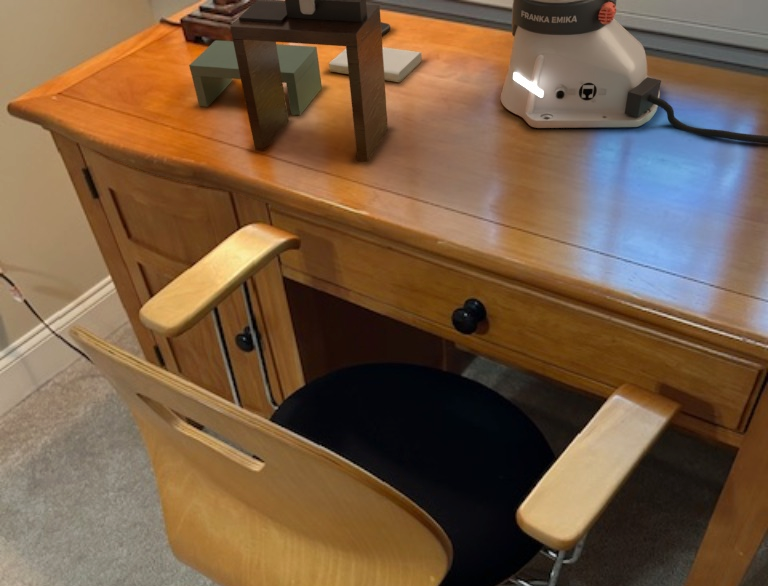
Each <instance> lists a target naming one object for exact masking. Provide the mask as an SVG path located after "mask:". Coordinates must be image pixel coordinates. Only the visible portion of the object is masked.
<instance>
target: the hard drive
mask: <svg viewBox="0 0 768 586" xmlns="http://www.w3.org/2000/svg"><path fill="white" fill-rule="evenodd" d="M382 48H383V63H384V78H385V81H390V82H395V83H401V82H402V81H403V80H404V79H406V77H408V75H409V74H410V73H411V72H412V71H413V70H415V69H416V68H417V67H418V65H420V64H421V62H422V59H423V55H422V52H421V51H416V50H415V51H413V50H408V49H407V50H406V49H400V48H391V47H385V46H382ZM328 67H329V68H328V69H329V72H332V73H333V72H334V73H338V74H342V75H343V74H344V75H349V71H348V61H347V51H346V48H345V49H344V50H343V51H341V52H340V53H339V54H338V55H336V56H335V57H334V58H333V59H332V60H330V61H329V63H328Z"/></svg>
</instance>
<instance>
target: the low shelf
mask: <svg viewBox="0 0 768 586" xmlns="http://www.w3.org/2000/svg"><path fill="white" fill-rule="evenodd" d="M276 46H277V52H278V59H279V65H280V71H281V77H282V83H283V84H286V91H287V97H288V104H289V109H290V114H291V115H293V116H301V115H302V114H303V112H304V111H305V110H306V109H307V108H308V106H309V105H310V104H311V103H312V101H313V100H314V99H315V98H316V96H318V94H319V92H321V90H322V89H323V87H322V78H321V70H320V62H319V55H318V48H317V46H308V45H296V44H295V45H293V44H279V43H276ZM188 66H189V71H190V75H191V78H192V82H193V87H194V91H195V95H196V98H197V102H198V106H199V107H206V108H208V107H209V106H210V105H211V104H212V103H213V102H215V100H216V99H217V98H218V97H219V96H220V95H221V94H222V93H223V92H224V91H225V89H226V88H228V86H230V84H231V83H232V82H233V80H241V78H240V73H239V68H238V63H237V58H236V53H235V48H234V43H233V40H232V41H231V40H220V39H219V40H217V39H216V40H214V41H213V42H212V43H211V44H210V45H209V46H208V47H206V48H205V50H204V51H202V52H201V53H200V54H199V55H198V56H197V57H196V58H195V59H194V60H193V61H192V62H191V63H190V64H189V65H188Z"/></svg>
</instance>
